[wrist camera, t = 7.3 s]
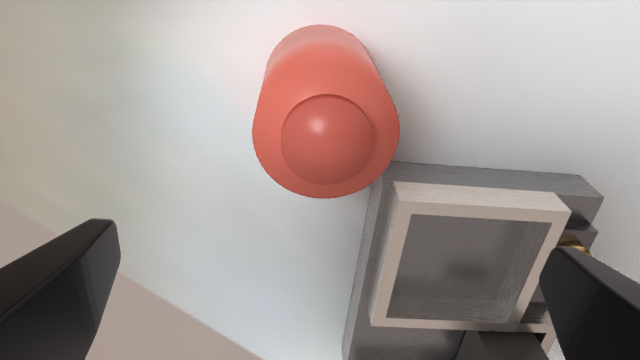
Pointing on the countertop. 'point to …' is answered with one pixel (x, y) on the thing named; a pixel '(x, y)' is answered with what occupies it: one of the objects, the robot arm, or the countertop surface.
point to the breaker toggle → (500, 346)
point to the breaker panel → (459, 257)
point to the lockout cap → (324, 115)
